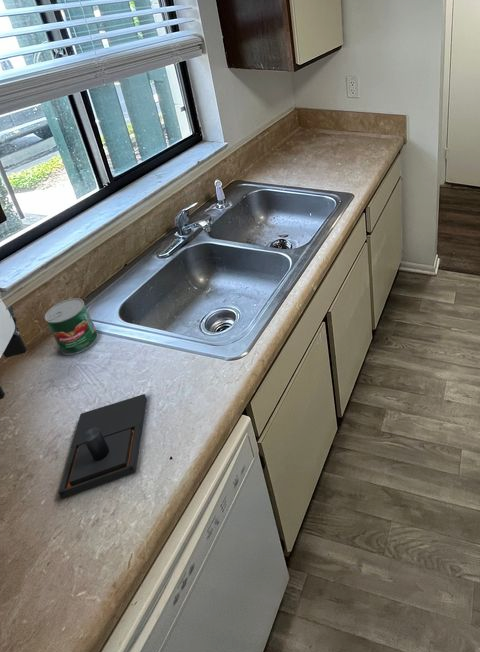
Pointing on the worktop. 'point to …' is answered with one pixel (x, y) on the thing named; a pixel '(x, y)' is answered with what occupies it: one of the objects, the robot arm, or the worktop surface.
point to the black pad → (105, 465)
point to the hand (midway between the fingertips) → (5, 375)
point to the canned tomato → (71, 326)
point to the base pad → (109, 423)
